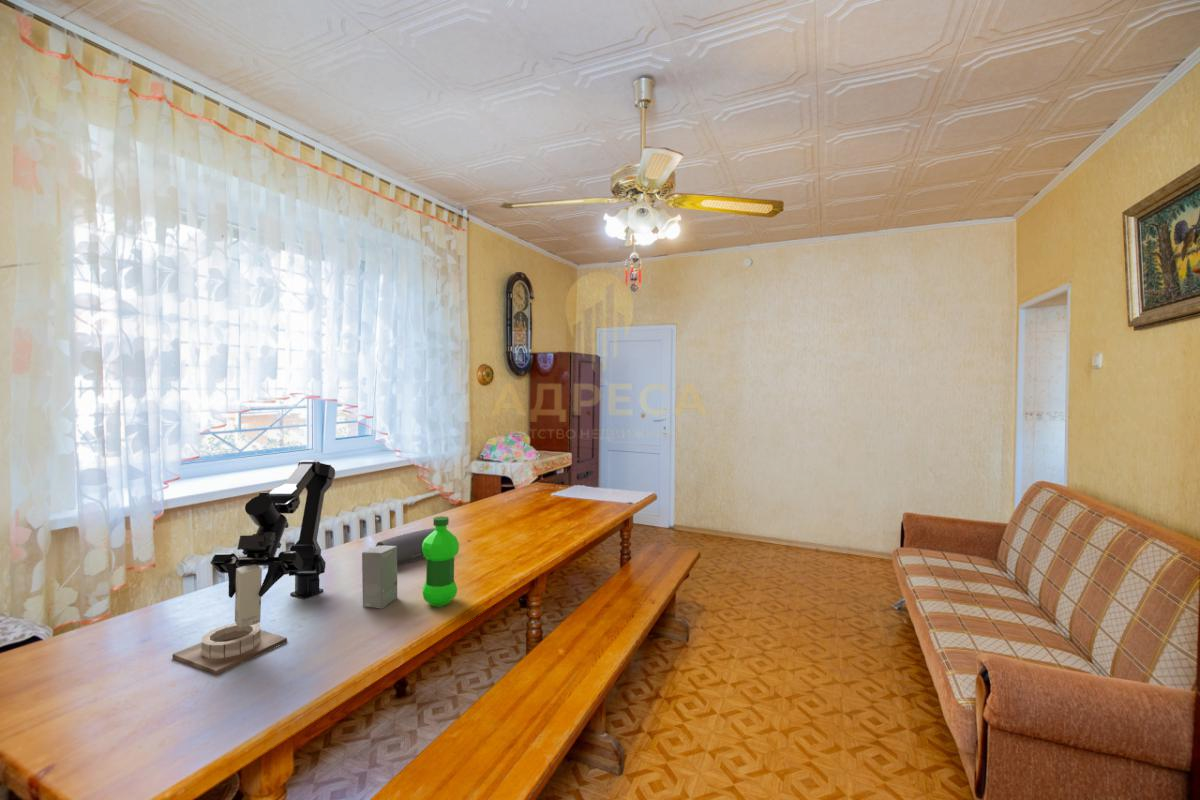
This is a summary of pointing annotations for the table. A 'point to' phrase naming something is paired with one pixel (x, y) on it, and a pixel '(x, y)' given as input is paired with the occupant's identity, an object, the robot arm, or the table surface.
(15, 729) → the table surface
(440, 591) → the plastic bottle
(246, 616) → the box
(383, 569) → the skincare box
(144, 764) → the table surface
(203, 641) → the ring socket
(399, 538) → the bluetooth speaker
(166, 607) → the table surface
